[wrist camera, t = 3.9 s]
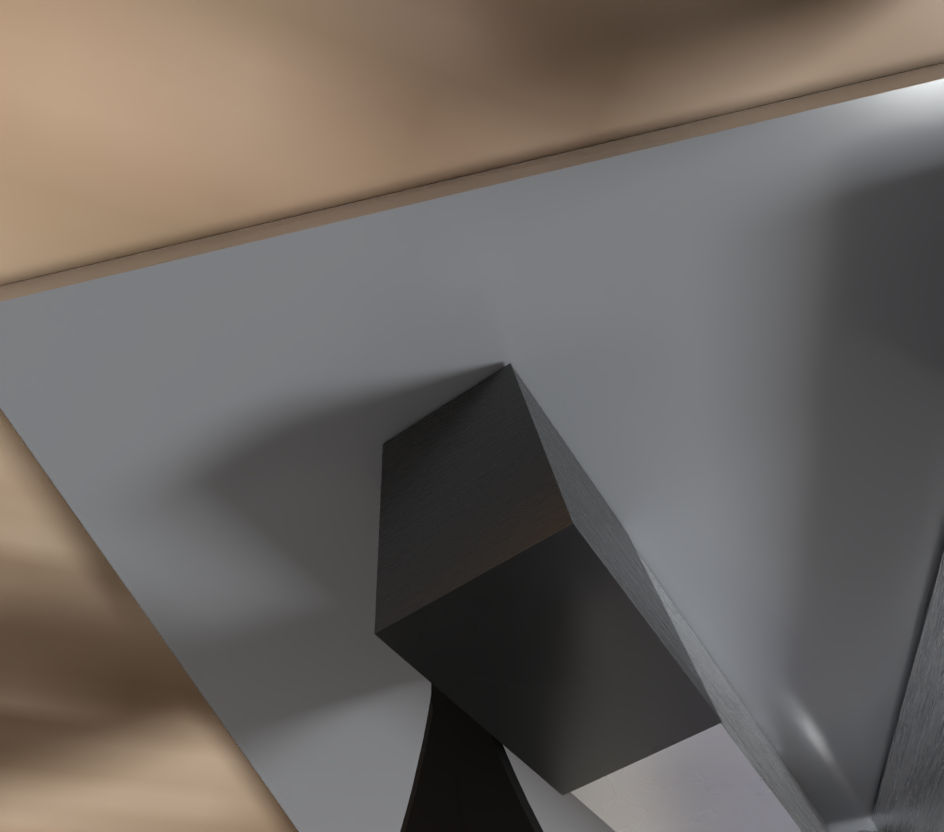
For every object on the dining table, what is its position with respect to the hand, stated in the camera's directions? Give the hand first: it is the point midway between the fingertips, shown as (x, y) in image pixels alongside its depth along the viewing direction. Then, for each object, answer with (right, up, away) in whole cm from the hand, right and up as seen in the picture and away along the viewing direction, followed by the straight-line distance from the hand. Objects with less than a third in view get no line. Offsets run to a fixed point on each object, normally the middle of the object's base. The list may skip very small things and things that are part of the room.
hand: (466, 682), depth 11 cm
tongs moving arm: (+5, -1, +3) cm, 5 cm away
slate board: (+5, -1, +4) cm, 6 cm away
